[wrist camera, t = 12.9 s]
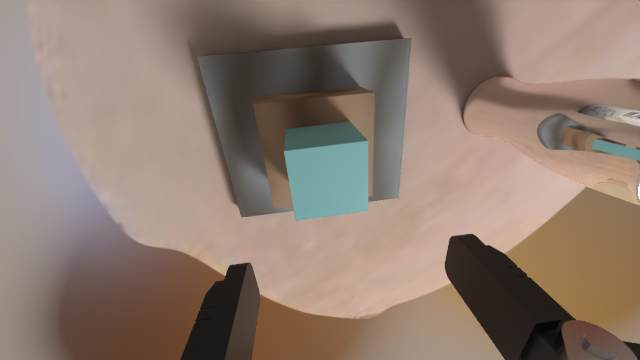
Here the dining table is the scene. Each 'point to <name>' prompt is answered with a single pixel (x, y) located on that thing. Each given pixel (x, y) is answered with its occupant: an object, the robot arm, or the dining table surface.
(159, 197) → the dining table surface
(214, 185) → the dining table surface
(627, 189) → the beer glass
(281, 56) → the stacking base
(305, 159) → the teal cube
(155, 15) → the dining table surface
